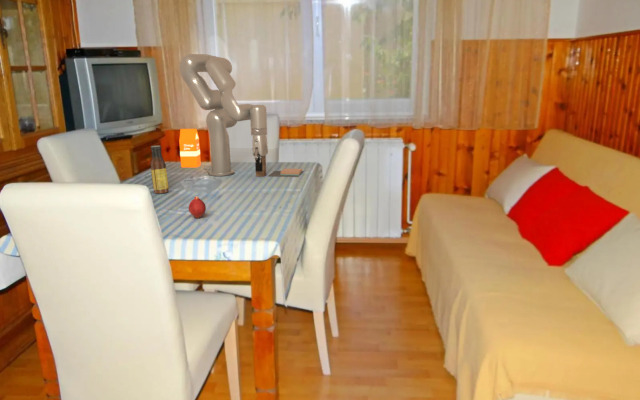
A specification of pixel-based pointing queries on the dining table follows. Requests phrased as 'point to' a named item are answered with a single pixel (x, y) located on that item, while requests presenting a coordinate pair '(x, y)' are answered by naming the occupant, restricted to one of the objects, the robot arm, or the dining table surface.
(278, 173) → the mat
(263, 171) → the block
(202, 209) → the onion
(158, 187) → the sauce bottle
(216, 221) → the dining table surface
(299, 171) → the tile
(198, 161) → the orange juice
